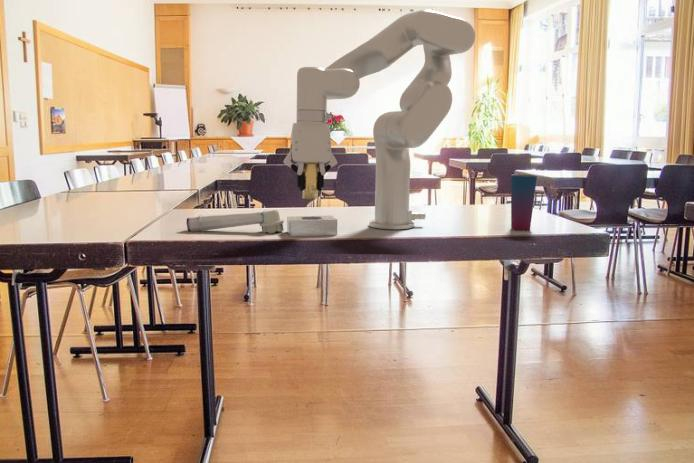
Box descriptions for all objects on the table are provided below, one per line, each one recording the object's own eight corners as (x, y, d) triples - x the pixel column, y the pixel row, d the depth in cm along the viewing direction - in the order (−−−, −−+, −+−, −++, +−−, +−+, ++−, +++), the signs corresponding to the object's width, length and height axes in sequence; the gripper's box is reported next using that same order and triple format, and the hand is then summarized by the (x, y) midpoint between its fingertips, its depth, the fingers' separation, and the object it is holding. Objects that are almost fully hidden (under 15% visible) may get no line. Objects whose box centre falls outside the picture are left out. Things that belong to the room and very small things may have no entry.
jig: (331, 230, 159) (331, 215, 158) (337, 234, 152) (337, 219, 152) (287, 231, 156) (286, 216, 155) (291, 236, 149) (290, 220, 149)
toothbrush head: (190, 215, 158) (282, 203, 157) (194, 239, 159) (286, 228, 158) (184, 218, 153) (279, 206, 152) (189, 243, 154) (283, 231, 153)
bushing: (316, 197, 155) (316, 162, 153) (319, 199, 151) (319, 163, 149) (301, 197, 154) (301, 162, 152) (303, 199, 150) (304, 163, 148)
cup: (523, 226, 168) (527, 173, 165) (538, 230, 162) (542, 176, 159) (503, 227, 166) (506, 174, 163) (517, 231, 159) (520, 176, 157)
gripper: (340, 119, 154) (338, 189, 158) (276, 117, 150) (275, 188, 154) (347, 118, 147) (345, 192, 150) (280, 116, 143) (279, 191, 146)
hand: (310, 189), depth 152 cm, fingers closed on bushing, 4 cm apart
